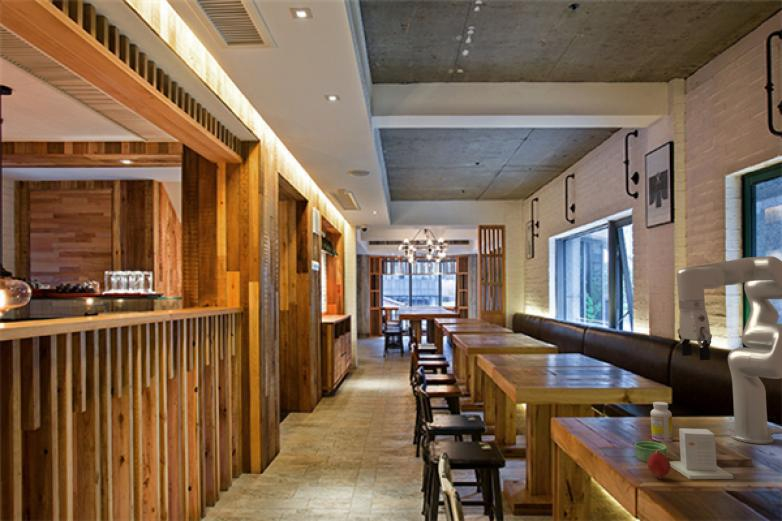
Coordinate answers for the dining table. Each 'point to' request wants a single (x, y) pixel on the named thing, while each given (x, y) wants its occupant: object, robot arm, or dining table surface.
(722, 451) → the holder block
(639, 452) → the ramekin
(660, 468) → the onion
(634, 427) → the dining table surface
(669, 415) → the supplement bottle
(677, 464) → the cream square tile
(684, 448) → the small box
